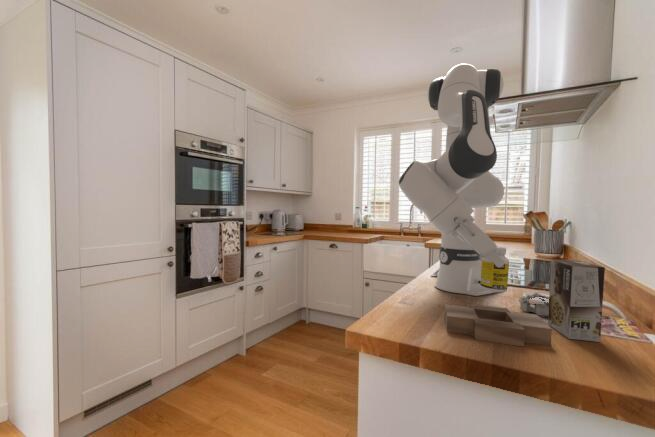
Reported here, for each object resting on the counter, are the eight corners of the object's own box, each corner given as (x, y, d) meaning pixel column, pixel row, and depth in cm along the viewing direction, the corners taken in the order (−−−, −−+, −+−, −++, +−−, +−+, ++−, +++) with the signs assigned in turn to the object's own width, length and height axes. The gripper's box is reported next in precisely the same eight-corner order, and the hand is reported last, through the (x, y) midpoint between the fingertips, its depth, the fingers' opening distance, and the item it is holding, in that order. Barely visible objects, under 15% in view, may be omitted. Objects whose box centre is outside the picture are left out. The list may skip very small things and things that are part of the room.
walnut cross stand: (443, 314, 80) (444, 301, 79) (532, 325, 73) (533, 311, 73) (447, 335, 66) (447, 319, 66) (555, 351, 60) (556, 333, 60)
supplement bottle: (492, 293, 66) (495, 248, 66) (475, 287, 71) (477, 245, 71) (513, 292, 67) (515, 248, 67) (494, 286, 73) (496, 245, 72)
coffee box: (602, 342, 65) (606, 267, 64) (567, 339, 66) (572, 265, 65) (576, 326, 74) (580, 260, 73) (546, 323, 75) (550, 258, 74)
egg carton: (544, 318, 80) (545, 302, 79) (514, 309, 86) (515, 295, 86) (564, 312, 85) (565, 297, 85) (535, 304, 91) (536, 290, 91)
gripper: (470, 208, 61) (524, 260, 58) (459, 208, 80) (499, 248, 78) (445, 229, 62) (496, 281, 60) (440, 224, 82) (479, 264, 79)
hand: (498, 262), depth 69 cm, fingers closed on supplement bottle, 5 cm apart
